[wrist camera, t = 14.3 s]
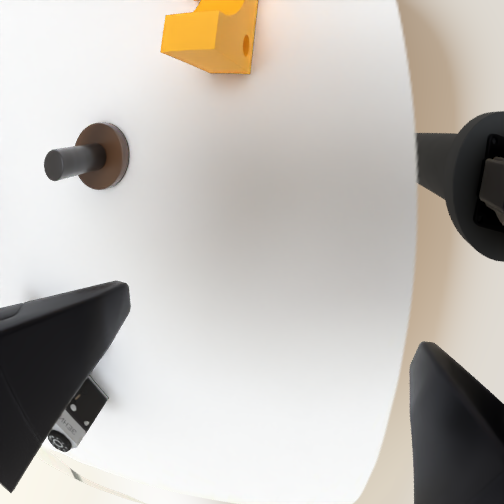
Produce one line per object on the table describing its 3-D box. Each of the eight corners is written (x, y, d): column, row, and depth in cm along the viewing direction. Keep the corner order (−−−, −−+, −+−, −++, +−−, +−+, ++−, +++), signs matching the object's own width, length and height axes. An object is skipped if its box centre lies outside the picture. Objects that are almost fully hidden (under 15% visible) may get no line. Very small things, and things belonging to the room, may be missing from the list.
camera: (147, 384, 31) (112, 450, 21) (89, 406, 33) (54, 459, 23) (64, 271, 28) (-1, 310, 18) (17, 312, 30) (-36, 350, 20)
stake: (130, 121, 20) (80, 123, 15) (129, 190, 22) (81, 207, 17) (80, 124, 21) (30, 128, 16) (80, 185, 23) (32, 201, 18)
